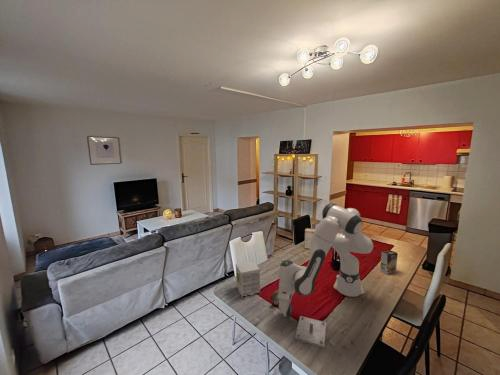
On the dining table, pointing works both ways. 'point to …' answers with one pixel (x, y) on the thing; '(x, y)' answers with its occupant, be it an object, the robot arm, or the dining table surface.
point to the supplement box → (248, 278)
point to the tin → (274, 297)
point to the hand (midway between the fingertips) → (286, 310)
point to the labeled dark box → (289, 310)
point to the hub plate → (311, 331)
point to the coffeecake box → (308, 236)
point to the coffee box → (388, 262)
